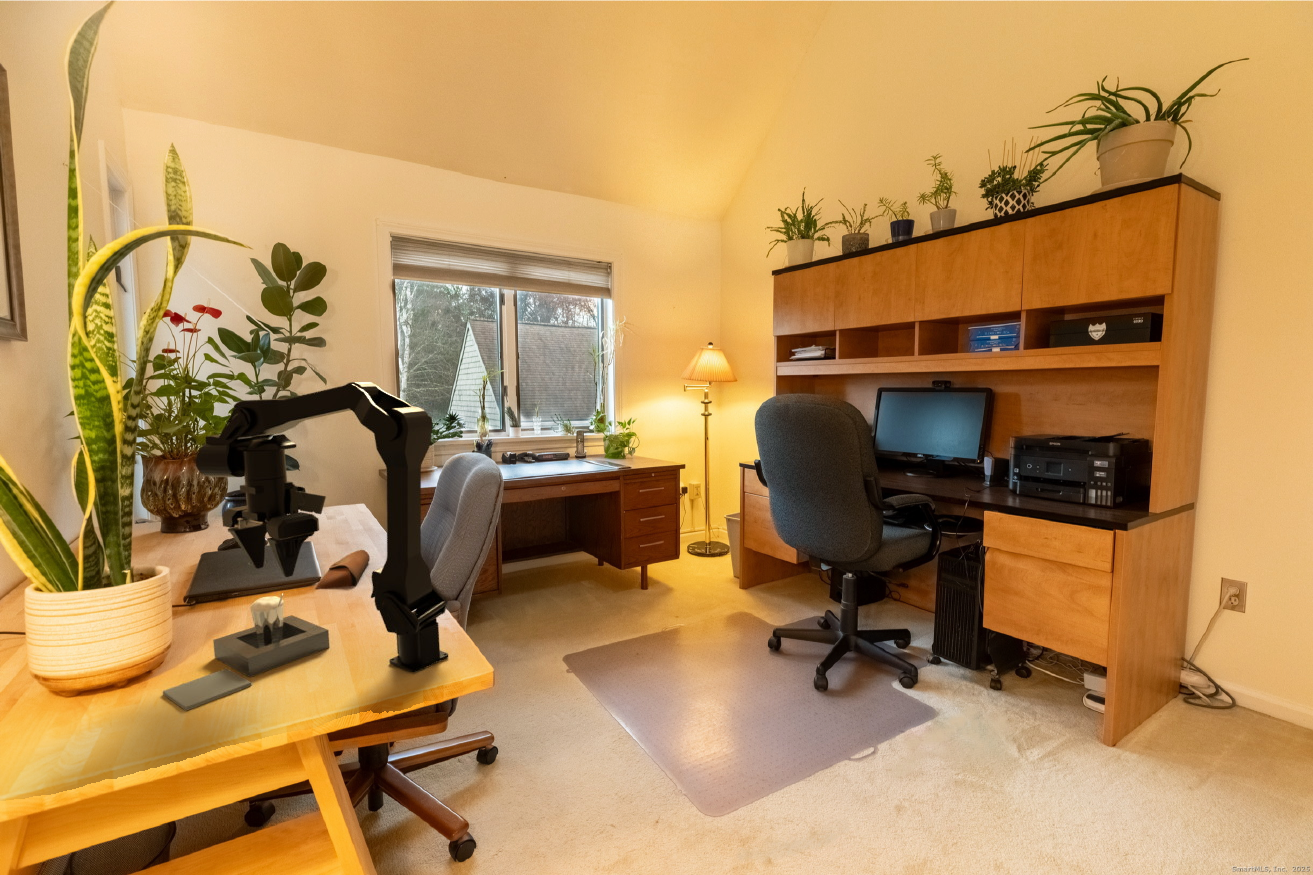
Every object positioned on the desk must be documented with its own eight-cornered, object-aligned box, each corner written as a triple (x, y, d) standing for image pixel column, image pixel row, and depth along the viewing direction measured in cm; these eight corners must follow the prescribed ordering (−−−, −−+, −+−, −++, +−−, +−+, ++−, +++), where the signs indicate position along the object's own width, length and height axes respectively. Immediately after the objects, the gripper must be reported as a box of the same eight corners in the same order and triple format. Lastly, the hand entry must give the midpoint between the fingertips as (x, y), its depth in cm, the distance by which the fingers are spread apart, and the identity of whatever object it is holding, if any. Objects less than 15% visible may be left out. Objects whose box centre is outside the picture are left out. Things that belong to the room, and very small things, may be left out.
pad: (251, 685, 89) (251, 682, 89) (185, 710, 82) (185, 707, 82) (227, 671, 93) (226, 668, 93) (163, 694, 87) (162, 690, 87)
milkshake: (275, 660, 97) (271, 599, 96) (247, 657, 98) (242, 597, 97) (298, 647, 101) (293, 589, 100) (270, 645, 102) (265, 587, 101)
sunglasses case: (331, 565, 146) (345, 540, 147) (359, 577, 148) (373, 552, 149) (313, 590, 129) (329, 562, 130) (346, 603, 131) (361, 575, 132)
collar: (329, 647, 101) (328, 629, 101) (249, 677, 91) (247, 658, 91) (293, 631, 108) (291, 615, 108) (214, 657, 98) (213, 639, 98)
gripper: (347, 474, 100) (354, 567, 102) (287, 467, 110) (293, 552, 111) (276, 485, 91) (284, 587, 92) (216, 476, 101) (225, 568, 102)
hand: (273, 572), depth 100 cm, fingers open, 9 cm apart
